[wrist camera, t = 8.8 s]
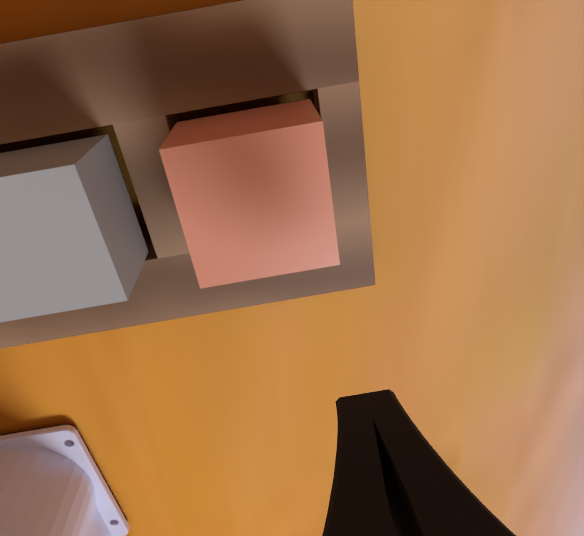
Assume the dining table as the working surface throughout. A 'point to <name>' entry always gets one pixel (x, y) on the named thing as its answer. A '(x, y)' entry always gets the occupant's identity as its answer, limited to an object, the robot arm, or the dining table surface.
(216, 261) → the brick key
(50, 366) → the dining table surface
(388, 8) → the dining table surface
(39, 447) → the robot arm
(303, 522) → the dining table surface
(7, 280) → the slate key
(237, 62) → the brown flat board
